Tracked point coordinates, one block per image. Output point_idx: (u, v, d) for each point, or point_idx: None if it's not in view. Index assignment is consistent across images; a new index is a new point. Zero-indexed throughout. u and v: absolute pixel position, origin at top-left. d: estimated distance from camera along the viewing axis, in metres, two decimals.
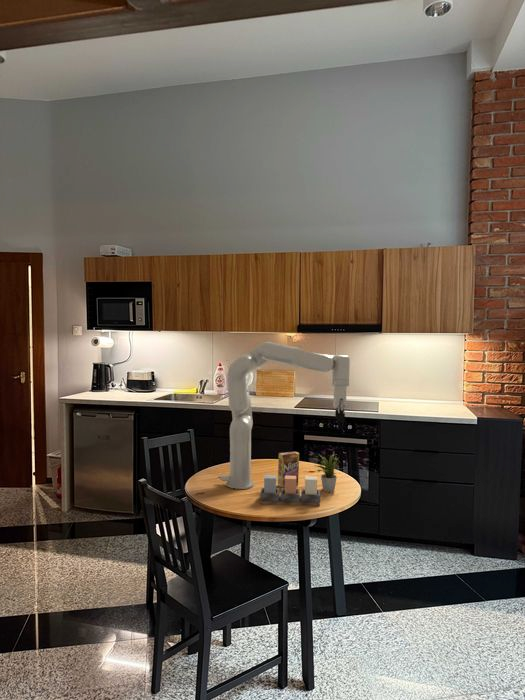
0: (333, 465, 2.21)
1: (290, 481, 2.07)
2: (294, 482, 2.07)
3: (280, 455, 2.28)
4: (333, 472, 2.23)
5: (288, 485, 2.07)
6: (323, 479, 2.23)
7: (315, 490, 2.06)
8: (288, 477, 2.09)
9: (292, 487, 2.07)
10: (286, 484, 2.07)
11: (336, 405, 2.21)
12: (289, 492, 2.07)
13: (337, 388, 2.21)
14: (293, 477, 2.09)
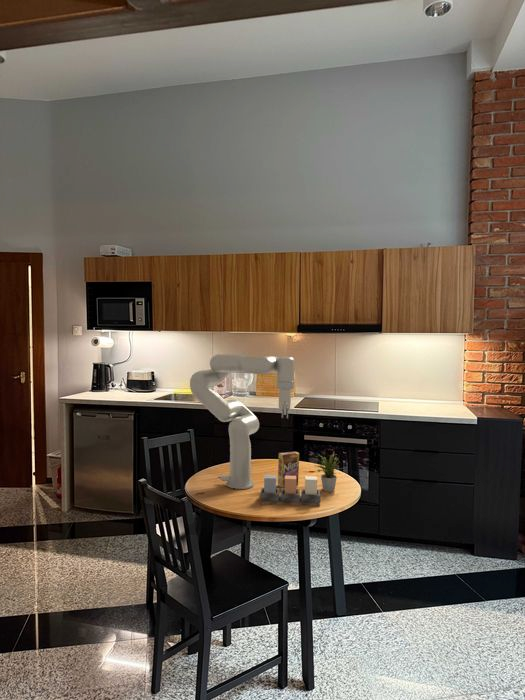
0: (333, 465, 2.21)
1: (290, 481, 2.07)
2: (294, 482, 2.07)
3: (280, 455, 2.28)
4: (333, 472, 2.23)
5: (288, 485, 2.07)
6: (323, 479, 2.23)
7: (315, 490, 2.06)
8: (288, 477, 2.09)
9: (292, 487, 2.07)
10: (286, 484, 2.07)
11: (280, 409, 2.14)
12: (289, 492, 2.07)
13: (281, 391, 2.15)
14: (293, 477, 2.09)
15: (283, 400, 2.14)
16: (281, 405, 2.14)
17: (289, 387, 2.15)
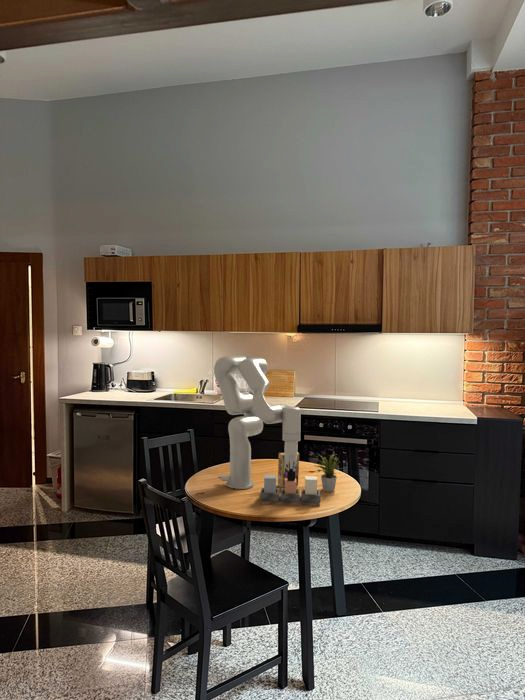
0: (333, 465, 2.21)
1: (290, 484, 2.07)
2: (294, 485, 2.07)
3: (280, 455, 2.28)
4: (333, 472, 2.23)
5: (288, 488, 2.07)
6: (323, 479, 2.23)
7: (315, 490, 2.06)
8: None
9: (292, 490, 2.07)
10: (286, 487, 2.07)
11: (286, 462, 2.04)
12: None
13: (287, 444, 2.04)
14: None
15: (289, 453, 2.04)
16: (287, 459, 2.04)
17: (295, 439, 2.05)
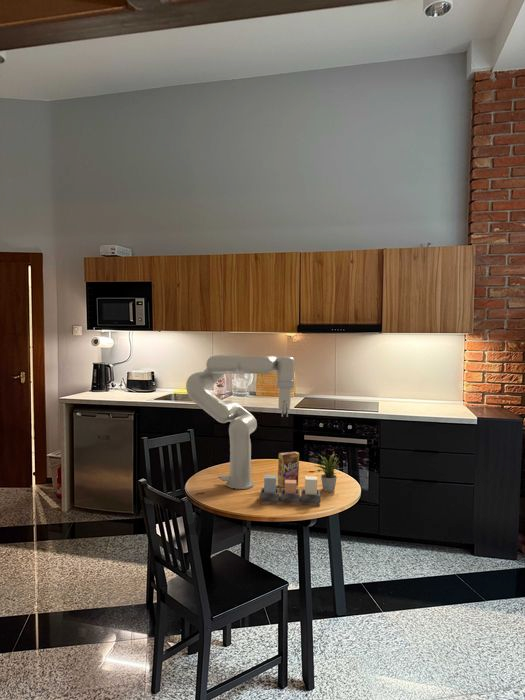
0: (333, 465, 2.21)
1: (290, 485, 2.07)
2: (294, 486, 2.07)
3: (280, 455, 2.28)
4: (333, 472, 2.23)
5: (288, 489, 2.07)
6: (323, 479, 2.23)
7: (315, 490, 2.06)
8: (288, 481, 2.09)
9: (292, 492, 2.07)
10: (286, 488, 2.07)
11: (279, 407, 2.18)
12: None
13: (281, 390, 2.18)
14: (293, 481, 2.09)
15: (283, 399, 2.17)
16: (281, 404, 2.17)
17: (289, 386, 2.19)
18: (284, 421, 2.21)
